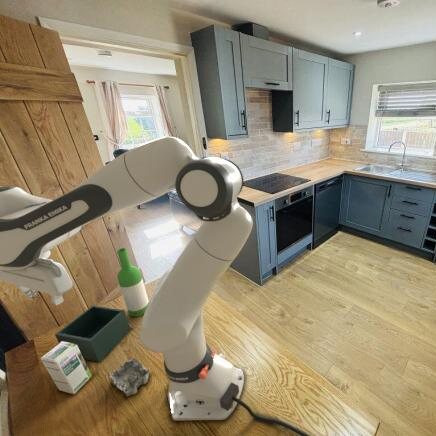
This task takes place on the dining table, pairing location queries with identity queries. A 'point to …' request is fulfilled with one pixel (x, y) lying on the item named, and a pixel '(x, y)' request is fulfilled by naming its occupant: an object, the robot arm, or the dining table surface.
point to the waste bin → (96, 331)
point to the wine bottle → (132, 285)
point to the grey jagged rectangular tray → (129, 376)
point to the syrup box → (67, 367)
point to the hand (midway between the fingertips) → (44, 299)
